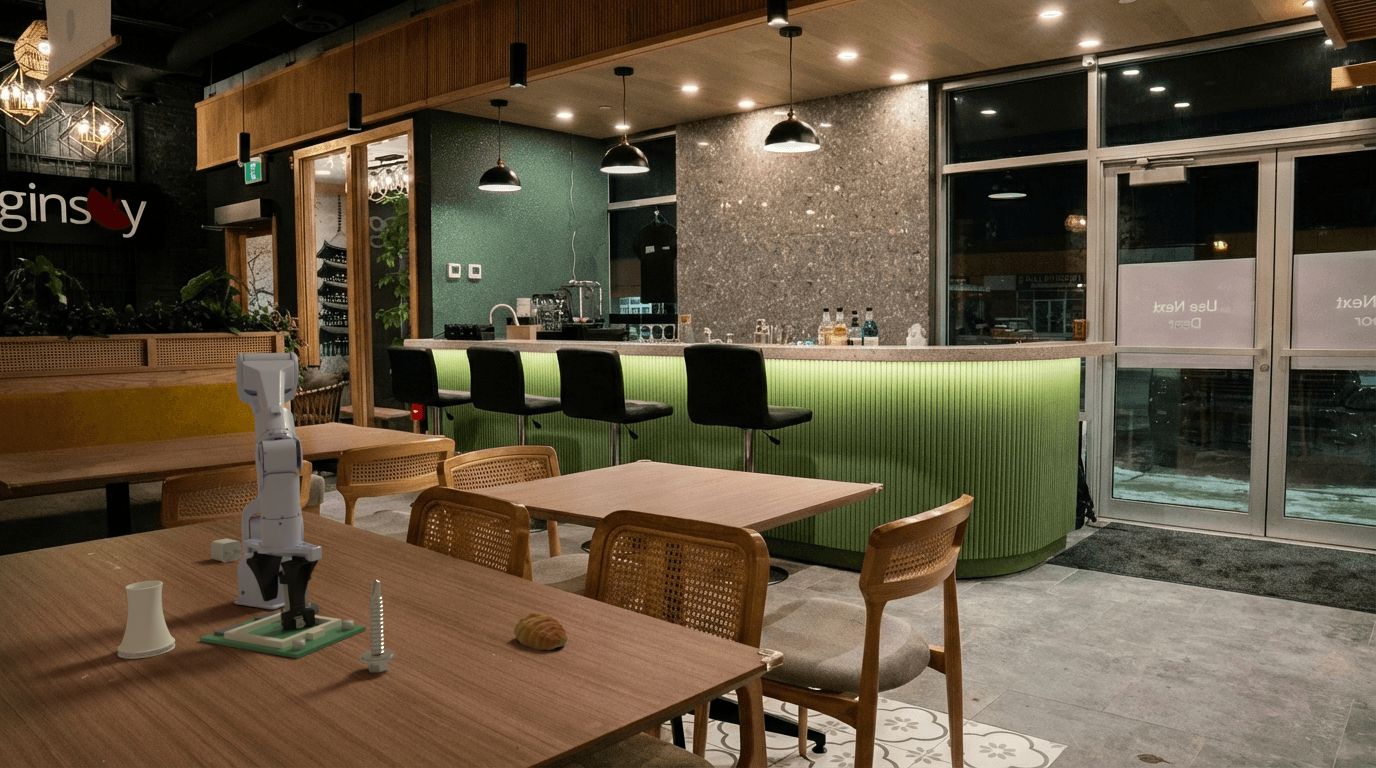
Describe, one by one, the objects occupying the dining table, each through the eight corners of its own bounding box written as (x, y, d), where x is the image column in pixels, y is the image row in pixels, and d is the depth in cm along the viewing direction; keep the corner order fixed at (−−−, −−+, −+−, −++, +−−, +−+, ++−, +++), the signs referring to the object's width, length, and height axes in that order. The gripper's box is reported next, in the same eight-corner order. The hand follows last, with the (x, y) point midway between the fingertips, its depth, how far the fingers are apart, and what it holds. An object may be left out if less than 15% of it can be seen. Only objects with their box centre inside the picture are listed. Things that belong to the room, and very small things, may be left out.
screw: (403, 667, 133) (375, 678, 129) (380, 661, 136) (352, 671, 132) (400, 577, 132) (373, 585, 128) (377, 572, 135) (349, 580, 131)
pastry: (578, 646, 142) (578, 622, 142) (539, 657, 138) (539, 631, 138) (547, 631, 150) (546, 608, 149) (509, 640, 145) (508, 616, 145)
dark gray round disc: (272, 617, 158) (272, 610, 158) (300, 608, 163) (300, 601, 163) (299, 622, 156) (299, 614, 155) (326, 611, 161) (326, 605, 161)
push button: (275, 636, 145) (271, 572, 145) (267, 628, 149) (263, 566, 149) (320, 627, 149) (316, 565, 149) (310, 619, 153) (307, 559, 153)
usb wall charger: (230, 556, 200) (229, 537, 200) (247, 560, 196) (247, 541, 196) (211, 560, 197) (210, 541, 197) (228, 564, 193) (228, 545, 193)
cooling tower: (115, 662, 136) (112, 594, 135) (119, 646, 143) (116, 582, 142) (174, 653, 140) (172, 587, 139) (175, 639, 146) (173, 575, 146)
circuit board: (200, 641, 145) (199, 629, 145) (272, 615, 158) (272, 605, 158) (297, 658, 137) (297, 646, 137) (365, 630, 150) (365, 619, 150)
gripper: (225, 517, 146) (228, 603, 146) (295, 524, 140) (298, 614, 141) (262, 509, 152) (265, 591, 153) (330, 515, 146) (333, 601, 147)
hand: (283, 601), depth 147 cm, fingers closed on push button, 5 cm apart
